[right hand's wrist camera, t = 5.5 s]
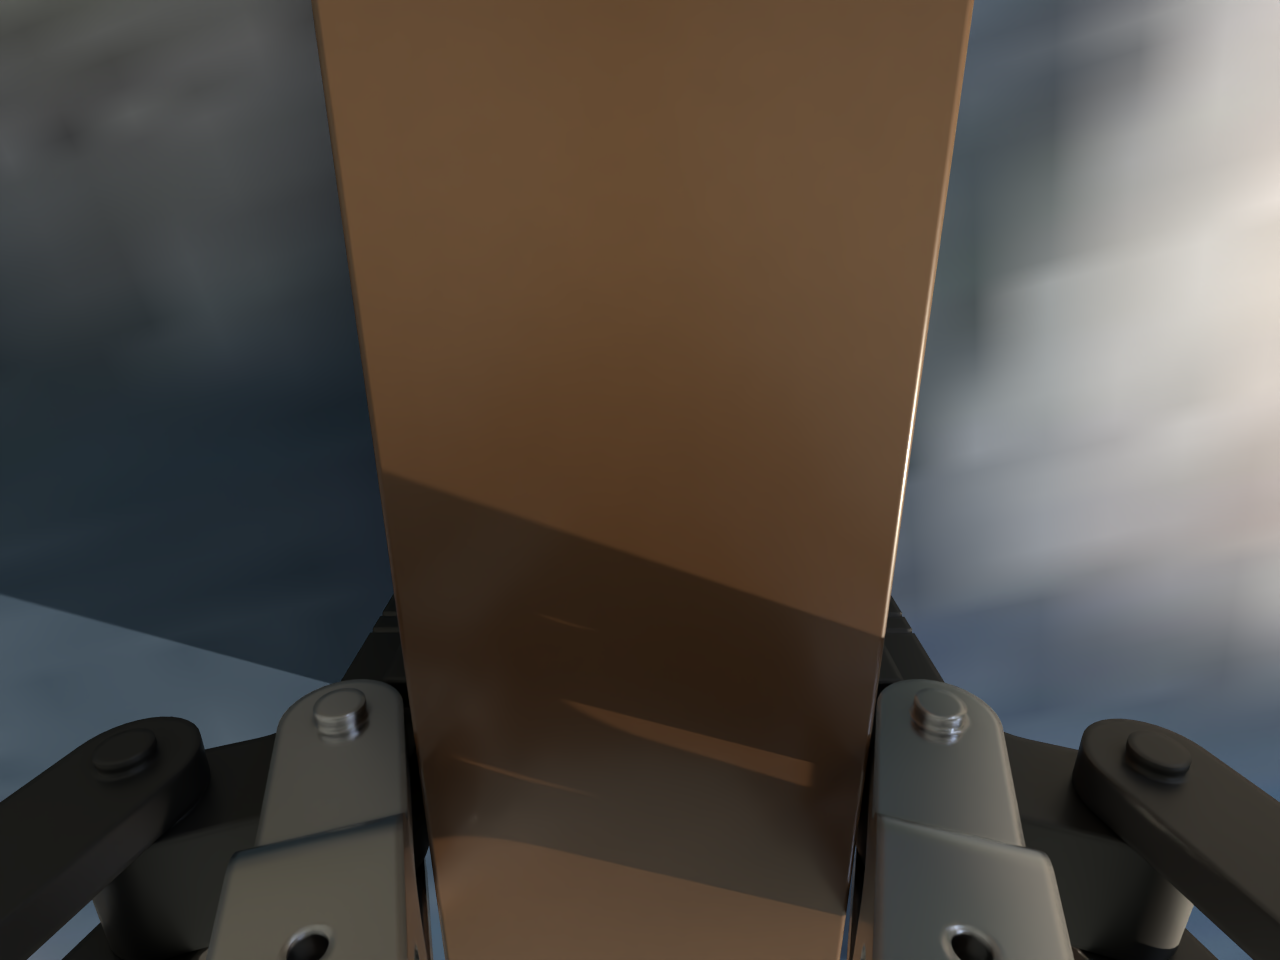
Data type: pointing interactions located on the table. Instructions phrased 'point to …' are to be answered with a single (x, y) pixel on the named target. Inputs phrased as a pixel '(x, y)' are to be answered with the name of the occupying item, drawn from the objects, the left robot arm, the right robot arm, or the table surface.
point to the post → (642, 439)
